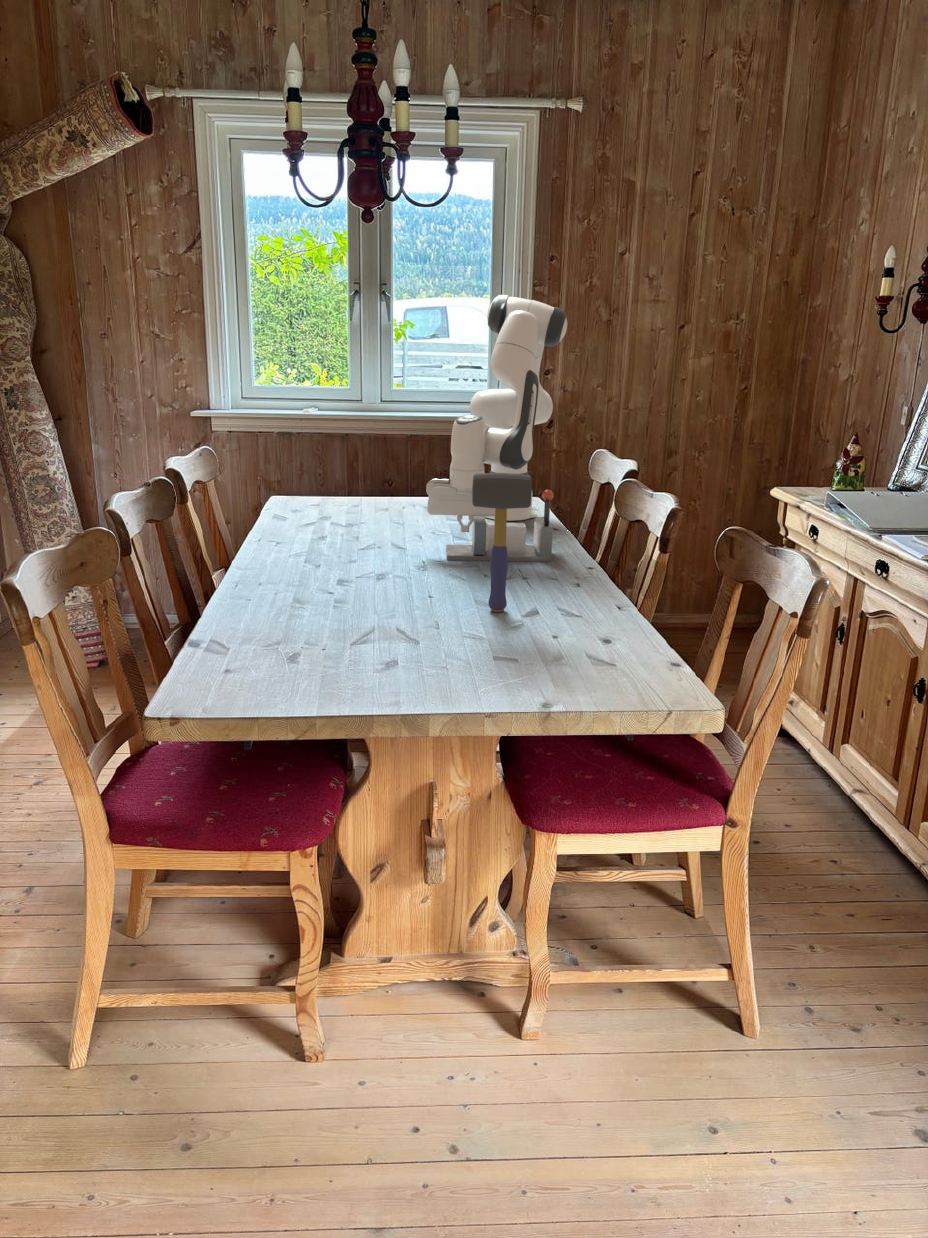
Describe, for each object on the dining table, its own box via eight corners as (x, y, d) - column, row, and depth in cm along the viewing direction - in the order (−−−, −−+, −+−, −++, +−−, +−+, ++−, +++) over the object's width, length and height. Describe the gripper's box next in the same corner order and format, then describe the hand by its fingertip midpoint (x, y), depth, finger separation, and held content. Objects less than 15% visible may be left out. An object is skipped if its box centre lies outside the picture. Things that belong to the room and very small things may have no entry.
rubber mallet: (468, 615, 209) (472, 475, 200) (468, 605, 216) (472, 469, 207) (527, 616, 209) (533, 476, 200) (524, 606, 216) (531, 470, 207)
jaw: (472, 544, 264) (472, 515, 261) (485, 544, 264) (486, 515, 261) (473, 554, 253) (474, 524, 251) (487, 554, 253) (488, 524, 251)
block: (485, 548, 261) (486, 522, 259) (523, 548, 262) (524, 523, 259) (487, 552, 256) (487, 526, 254) (525, 553, 257) (526, 527, 255)
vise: (446, 548, 264) (447, 481, 259) (545, 550, 265) (549, 482, 260) (446, 560, 253) (448, 489, 247) (551, 561, 254) (554, 491, 248)
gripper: (426, 480, 250) (425, 533, 254) (506, 482, 250) (504, 535, 254) (426, 476, 256) (425, 528, 260) (504, 478, 256) (502, 530, 260)
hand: (465, 532), depth 257 cm, fingers closed
